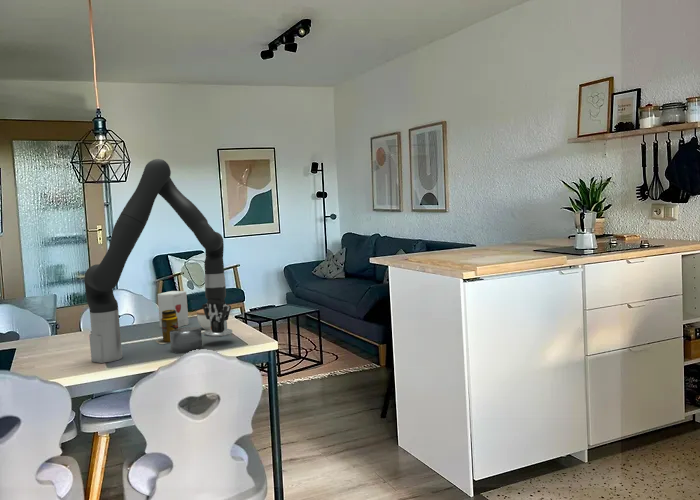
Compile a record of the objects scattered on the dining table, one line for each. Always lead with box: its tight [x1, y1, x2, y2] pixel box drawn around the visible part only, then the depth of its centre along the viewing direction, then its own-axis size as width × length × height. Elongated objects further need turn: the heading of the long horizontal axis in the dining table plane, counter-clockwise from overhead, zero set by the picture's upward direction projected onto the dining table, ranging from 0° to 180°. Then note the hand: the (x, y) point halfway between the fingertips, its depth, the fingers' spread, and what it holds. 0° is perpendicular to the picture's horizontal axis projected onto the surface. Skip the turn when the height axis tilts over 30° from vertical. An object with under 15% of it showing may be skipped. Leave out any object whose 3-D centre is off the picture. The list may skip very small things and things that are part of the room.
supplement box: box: [157, 290, 190, 329], centre depth 267 cm, size 9×9×15 cm
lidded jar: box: [196, 308, 211, 331], centre depth 258 cm, size 11×11×9 cm
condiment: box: [155, 310, 179, 345], centre depth 237 cm, size 7×8×12 cm
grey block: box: [170, 326, 203, 354], centre depth 222 cm, size 11×11×7 cm
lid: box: [202, 320, 233, 338], centre depth 228 cm, size 11×11×5 cm
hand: (217, 331), depth 228 cm, fingers closed on lid, 3 cm apart
